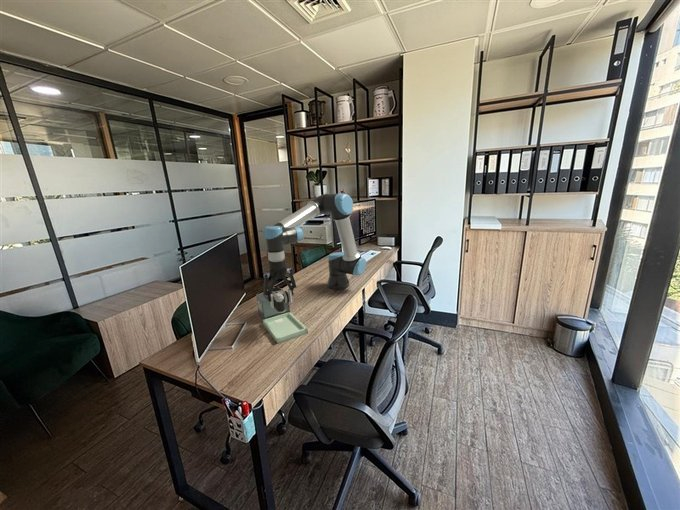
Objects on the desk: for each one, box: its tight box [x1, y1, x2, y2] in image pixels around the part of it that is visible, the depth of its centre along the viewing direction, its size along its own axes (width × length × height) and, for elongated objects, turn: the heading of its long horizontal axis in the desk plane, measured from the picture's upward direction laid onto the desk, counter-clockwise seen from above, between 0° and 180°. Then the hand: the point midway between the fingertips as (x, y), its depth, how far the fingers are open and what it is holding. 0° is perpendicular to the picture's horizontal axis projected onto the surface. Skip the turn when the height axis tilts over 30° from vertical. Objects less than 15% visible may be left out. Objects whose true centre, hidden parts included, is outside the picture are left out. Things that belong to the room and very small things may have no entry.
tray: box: [262, 311, 308, 345], centre depth 137 cm, size 15×22×2 cm
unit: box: [255, 292, 291, 321], centre depth 151 cm, size 15×12×12 cm
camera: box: [271, 285, 290, 313], centre depth 134 cm, size 16×9×10 cm, turn 30°
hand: (281, 304), depth 134 cm, fingers closed on camera, 9 cm apart
